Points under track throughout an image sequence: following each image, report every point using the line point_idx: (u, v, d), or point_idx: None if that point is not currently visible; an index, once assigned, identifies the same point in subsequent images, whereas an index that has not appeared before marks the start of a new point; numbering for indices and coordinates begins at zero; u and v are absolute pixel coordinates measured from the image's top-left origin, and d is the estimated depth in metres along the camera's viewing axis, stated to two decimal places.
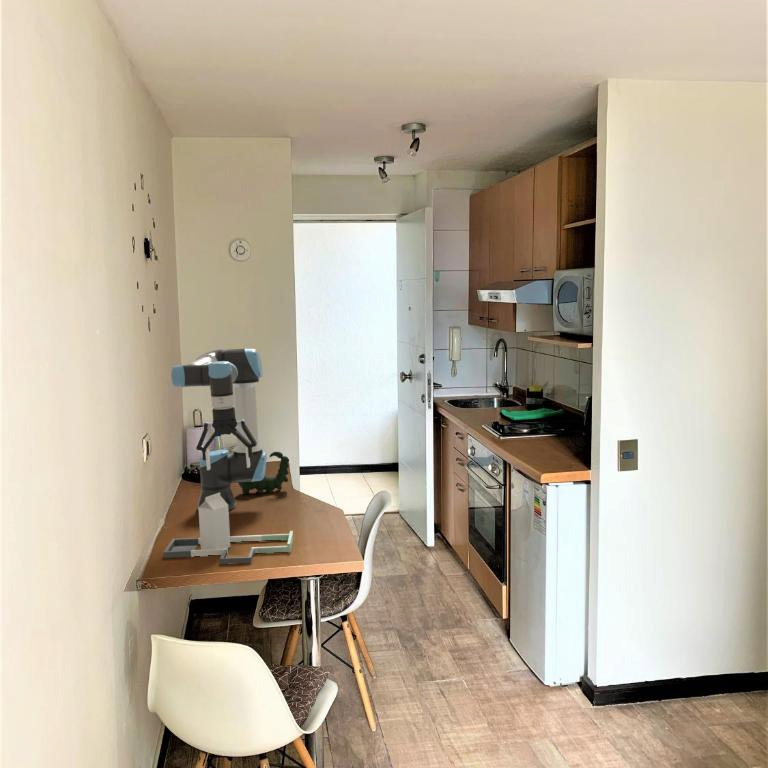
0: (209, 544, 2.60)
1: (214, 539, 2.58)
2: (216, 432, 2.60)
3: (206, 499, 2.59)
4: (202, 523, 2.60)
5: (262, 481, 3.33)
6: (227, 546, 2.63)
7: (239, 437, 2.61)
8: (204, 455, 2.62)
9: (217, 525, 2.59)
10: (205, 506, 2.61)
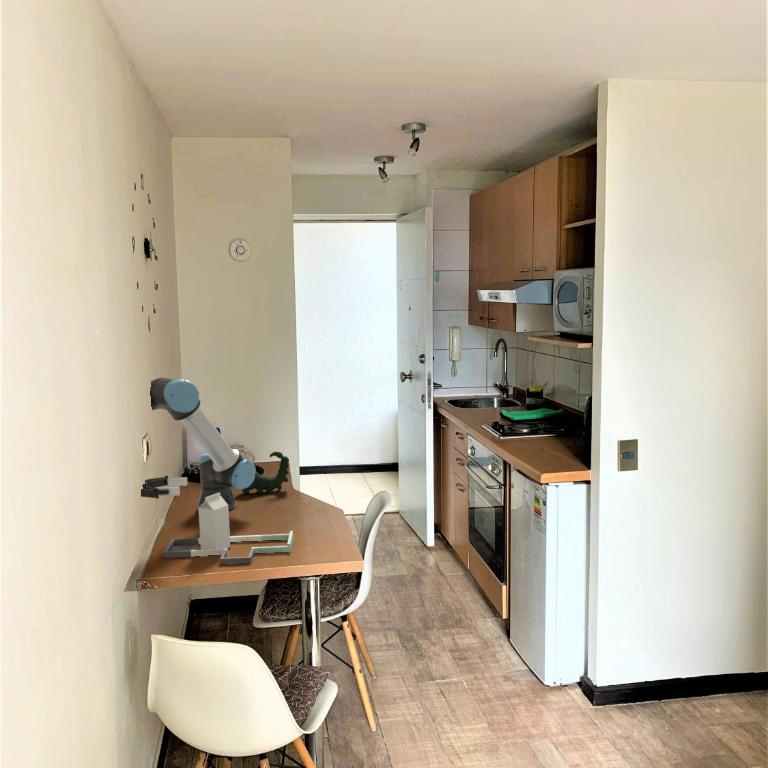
0: (209, 544, 2.60)
1: (214, 539, 2.58)
2: None
3: (206, 499, 2.59)
4: (202, 523, 2.60)
5: (262, 481, 3.33)
6: (227, 546, 2.63)
7: None
8: None
9: (217, 525, 2.59)
10: (205, 506, 2.61)
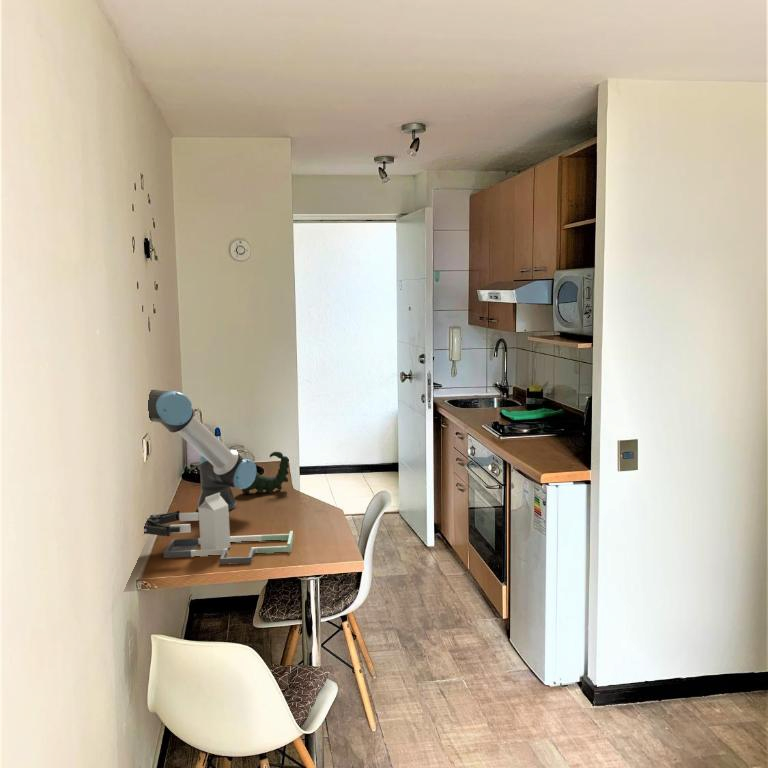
0: (209, 544, 2.60)
1: (214, 539, 2.58)
2: None
3: (206, 499, 2.59)
4: (202, 523, 2.60)
5: (262, 481, 3.33)
6: (227, 546, 2.63)
7: None
8: None
9: (217, 525, 2.59)
10: (205, 506, 2.61)
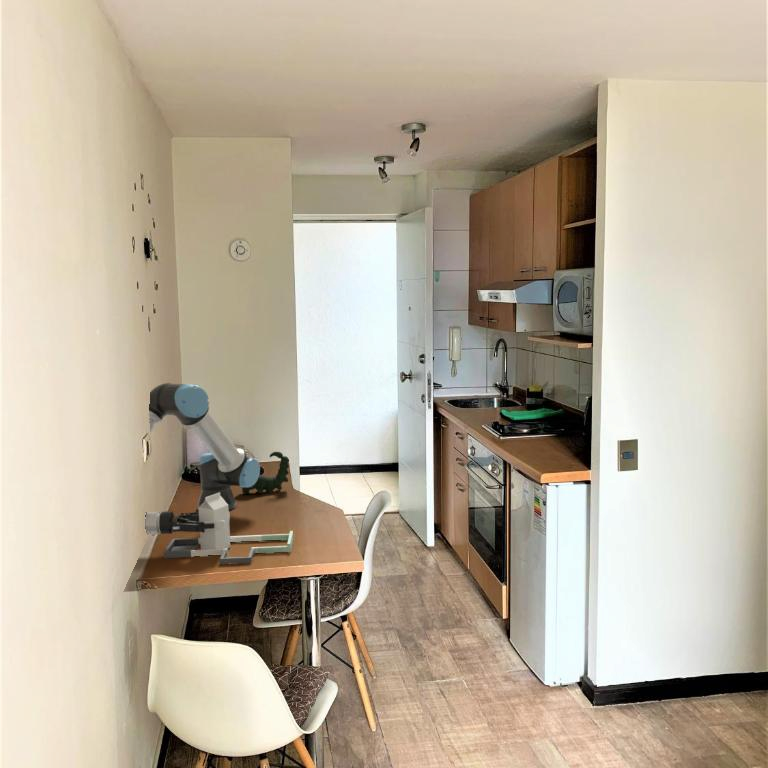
0: (209, 544, 2.60)
1: (214, 539, 2.58)
2: None
3: (206, 499, 2.59)
4: None
5: (262, 481, 3.33)
6: (227, 546, 2.63)
7: None
8: None
9: None
10: (205, 506, 2.61)
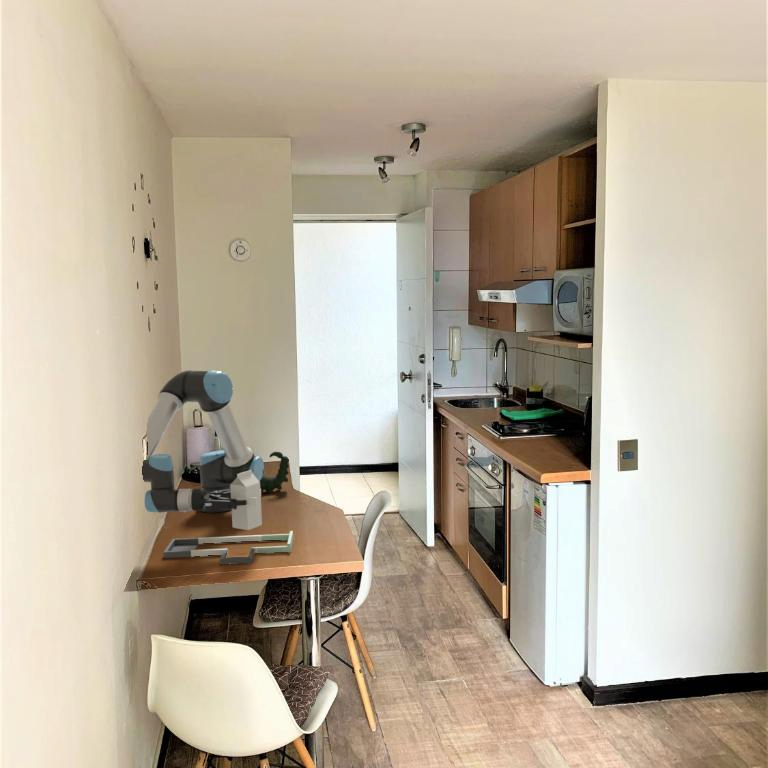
0: (241, 521, 2.58)
1: (246, 517, 2.56)
2: None
3: (238, 476, 2.57)
4: None
5: (262, 481, 3.33)
6: (259, 524, 2.61)
7: None
8: None
9: None
10: (237, 483, 2.59)
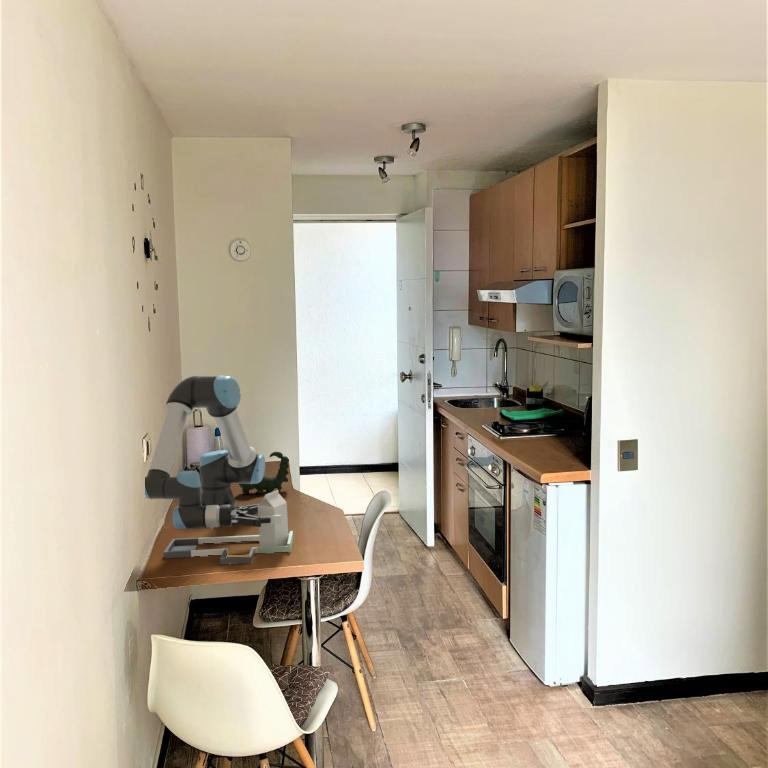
0: (269, 541, 2.61)
1: (274, 537, 2.59)
2: None
3: (266, 496, 2.60)
4: None
5: (262, 481, 3.33)
6: (286, 543, 2.64)
7: None
8: None
9: None
10: (264, 503, 2.62)
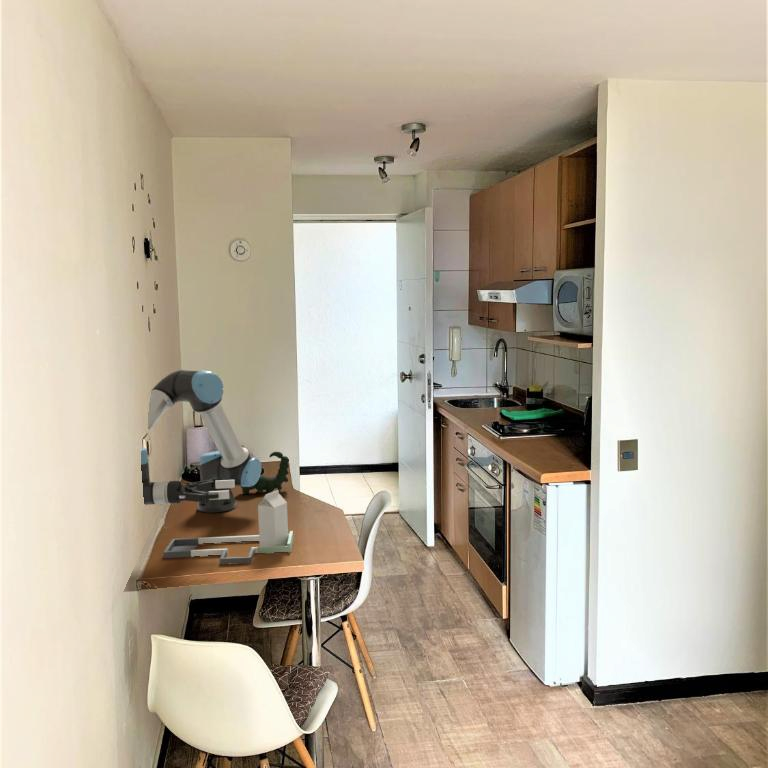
0: (269, 541, 2.61)
1: (274, 537, 2.59)
2: None
3: (266, 496, 2.60)
4: (261, 520, 2.61)
5: (262, 481, 3.33)
6: (286, 543, 2.64)
7: None
8: None
9: (277, 522, 2.60)
10: (264, 503, 2.62)
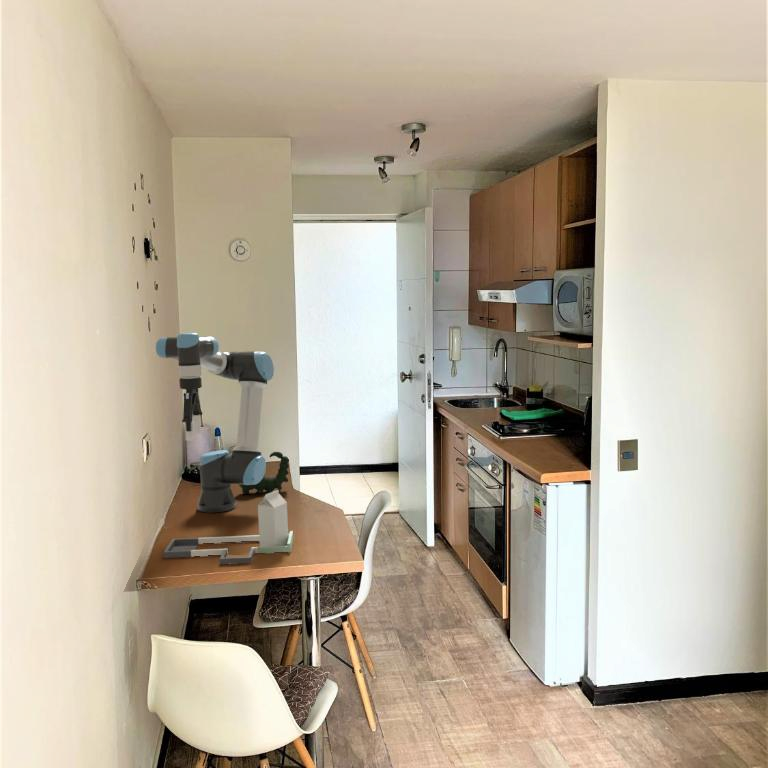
0: (269, 541, 2.61)
1: (274, 537, 2.59)
2: None
3: (266, 496, 2.60)
4: (261, 520, 2.61)
5: (262, 481, 3.33)
6: (286, 543, 2.64)
7: None
8: None
9: (277, 522, 2.60)
10: (264, 503, 2.62)
